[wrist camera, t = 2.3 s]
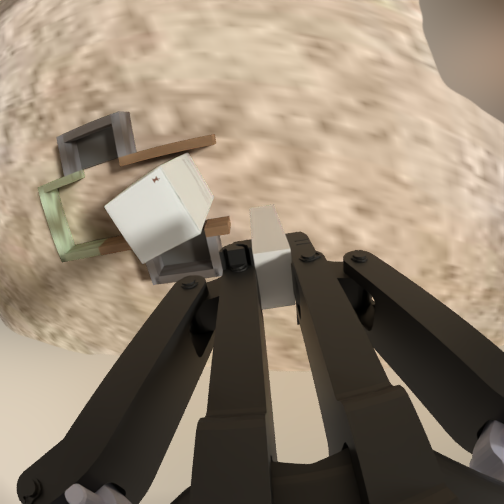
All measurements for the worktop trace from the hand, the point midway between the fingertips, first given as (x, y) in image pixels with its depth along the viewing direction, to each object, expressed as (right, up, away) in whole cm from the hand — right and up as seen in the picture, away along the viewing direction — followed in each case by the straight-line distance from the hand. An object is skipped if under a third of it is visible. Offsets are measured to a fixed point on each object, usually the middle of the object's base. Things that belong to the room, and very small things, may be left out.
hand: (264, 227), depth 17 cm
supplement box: (-11, +7, +18) cm, 22 cm away
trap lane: (-18, +6, +18) cm, 27 cm away
